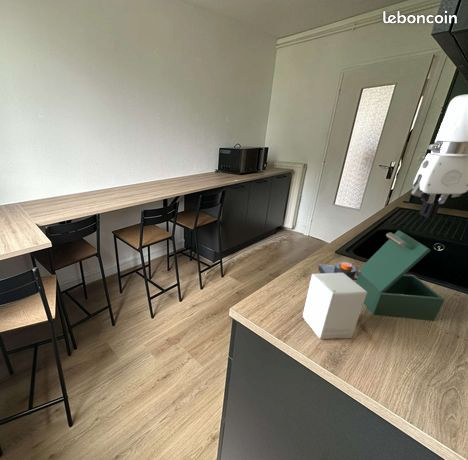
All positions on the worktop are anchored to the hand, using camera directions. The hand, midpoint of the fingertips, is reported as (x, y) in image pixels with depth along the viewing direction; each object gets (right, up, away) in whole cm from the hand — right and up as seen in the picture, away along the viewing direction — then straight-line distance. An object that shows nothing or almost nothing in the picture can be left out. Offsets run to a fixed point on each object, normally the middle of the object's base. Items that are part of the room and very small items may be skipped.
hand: (426, 215), depth 71 cm
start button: (-9, -18, +19) cm, 28 cm away
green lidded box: (-6, -28, +5) cm, 29 cm away
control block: (-11, -21, +21) cm, 32 cm away
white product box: (-29, -31, -1) cm, 43 cm away
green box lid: (-11, -13, -1) cm, 17 cm away
